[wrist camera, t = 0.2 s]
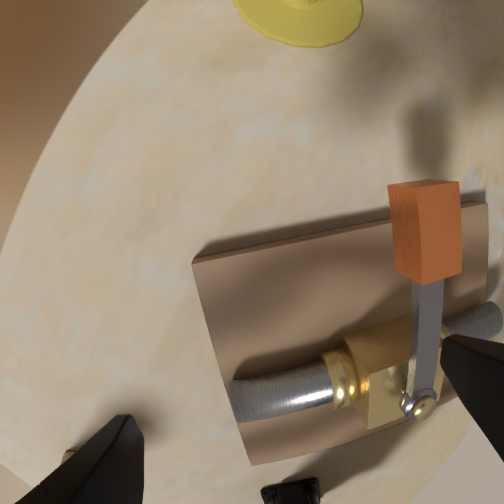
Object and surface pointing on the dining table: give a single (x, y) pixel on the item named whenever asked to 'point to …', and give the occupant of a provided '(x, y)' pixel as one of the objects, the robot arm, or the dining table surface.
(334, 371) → the valve body
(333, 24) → the candle
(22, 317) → the dining table surface
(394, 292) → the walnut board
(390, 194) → the valve lever
